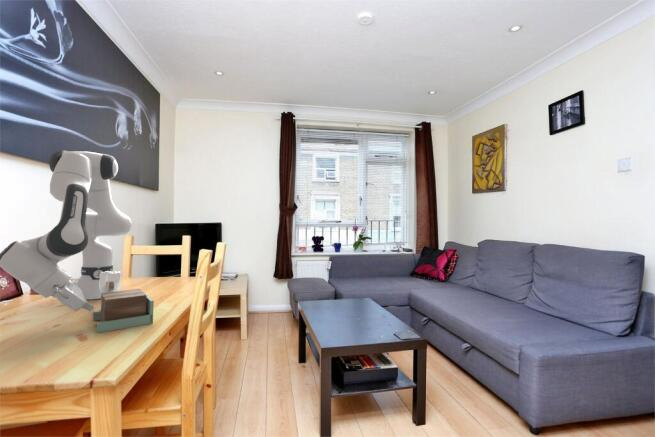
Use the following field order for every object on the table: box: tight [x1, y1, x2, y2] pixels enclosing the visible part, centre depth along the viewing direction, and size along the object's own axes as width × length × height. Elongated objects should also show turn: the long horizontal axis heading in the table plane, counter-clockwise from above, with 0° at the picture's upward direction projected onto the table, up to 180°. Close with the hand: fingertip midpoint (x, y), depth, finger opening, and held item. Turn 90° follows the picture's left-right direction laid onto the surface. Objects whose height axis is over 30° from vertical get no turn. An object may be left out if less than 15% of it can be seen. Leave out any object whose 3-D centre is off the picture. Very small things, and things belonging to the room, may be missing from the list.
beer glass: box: [99, 270, 121, 311], centre depth 124 cm, size 7×7×15 cm
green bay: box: [92, 291, 154, 334], centre depth 111 cm, size 16×16×8 cm
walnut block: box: [99, 288, 147, 322], centre depth 111 cm, size 12×12×10 cm
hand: (91, 309), depth 105 cm, fingers closed
